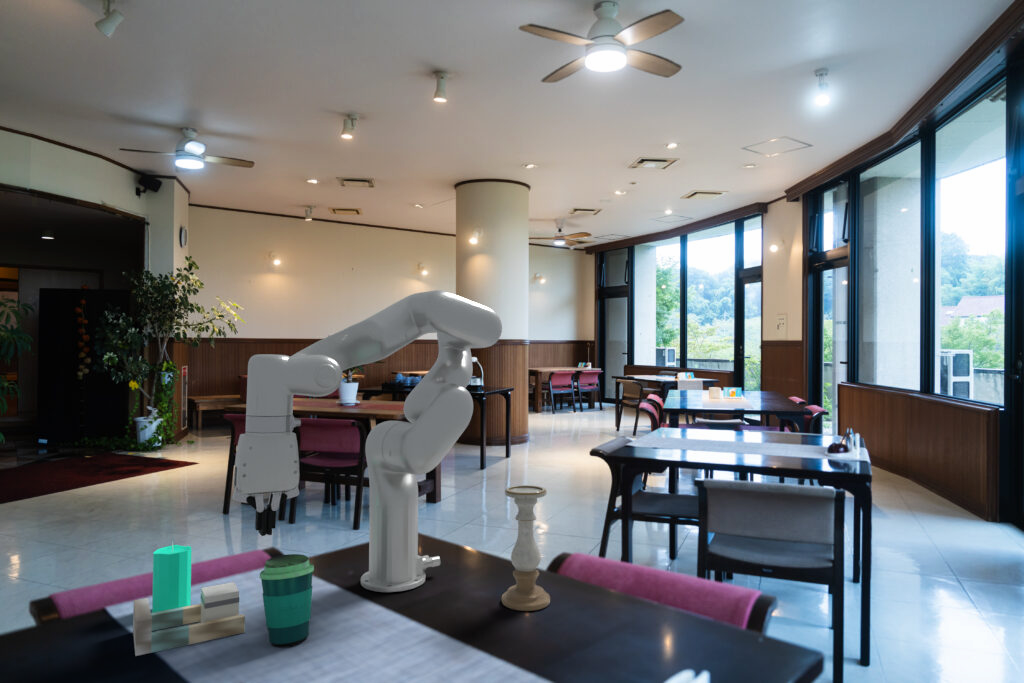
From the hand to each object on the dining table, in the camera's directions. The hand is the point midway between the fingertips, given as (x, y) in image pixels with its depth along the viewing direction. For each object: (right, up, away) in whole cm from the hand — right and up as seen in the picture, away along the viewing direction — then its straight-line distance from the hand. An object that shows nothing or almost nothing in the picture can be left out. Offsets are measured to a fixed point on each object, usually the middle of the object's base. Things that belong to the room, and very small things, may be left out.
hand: (265, 533), depth 107 cm
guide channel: (-9, -14, -6) cm, 18 cm away
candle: (-17, -14, +3) cm, 23 cm away
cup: (+7, -14, -9) cm, 18 cm away
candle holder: (+45, -15, +6) cm, 47 cm away
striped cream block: (-6, -14, -4) cm, 16 cm away
